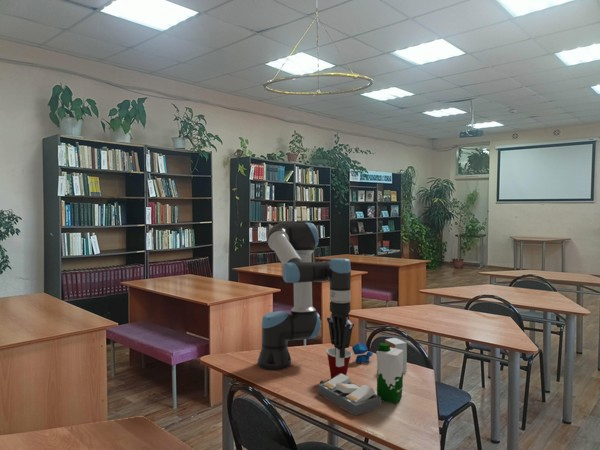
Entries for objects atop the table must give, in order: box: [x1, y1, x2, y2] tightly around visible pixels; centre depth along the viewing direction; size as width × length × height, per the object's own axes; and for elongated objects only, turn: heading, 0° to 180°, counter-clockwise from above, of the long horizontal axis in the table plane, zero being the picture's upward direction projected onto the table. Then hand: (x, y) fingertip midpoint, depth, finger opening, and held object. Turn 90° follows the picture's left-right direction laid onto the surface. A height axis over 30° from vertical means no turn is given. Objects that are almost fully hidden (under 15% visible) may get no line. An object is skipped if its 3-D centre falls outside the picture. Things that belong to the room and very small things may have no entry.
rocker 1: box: [324, 373, 352, 390], centre depth 159 cm, size 5×9×2 cm, turn 124°
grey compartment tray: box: [318, 380, 382, 417], centre depth 157 cm, size 27×12×4 cm, turn 34°
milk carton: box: [375, 342, 404, 405], centre depth 156 cm, size 9×9×20 cm
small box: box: [384, 337, 408, 373], centre depth 184 cm, size 8×6×13 cm
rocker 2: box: [335, 383, 361, 393], centre depth 154 cm, size 5×9×2 cm, turn 124°
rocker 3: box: [346, 384, 375, 404], centre depth 149 cm, size 5×9×2 cm, turn 124°
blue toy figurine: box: [351, 342, 374, 364], centre depth 195 cm, size 7×9×12 cm
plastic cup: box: [325, 347, 353, 380], centre depth 173 cm, size 11×11×12 cm
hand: (340, 365), depth 152 cm, fingers closed
